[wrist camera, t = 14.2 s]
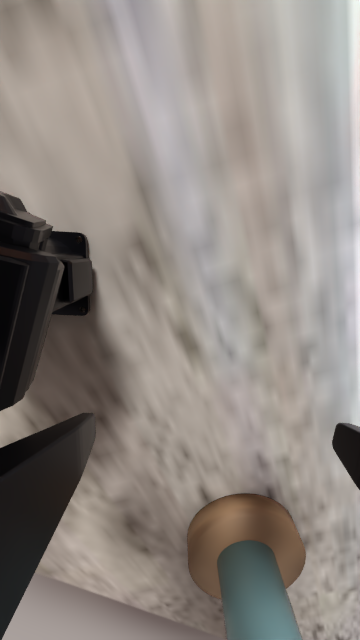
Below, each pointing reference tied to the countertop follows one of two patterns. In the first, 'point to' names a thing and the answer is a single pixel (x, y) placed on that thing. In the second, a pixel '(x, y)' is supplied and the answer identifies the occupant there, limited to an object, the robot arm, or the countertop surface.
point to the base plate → (242, 537)
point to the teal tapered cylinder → (254, 594)
